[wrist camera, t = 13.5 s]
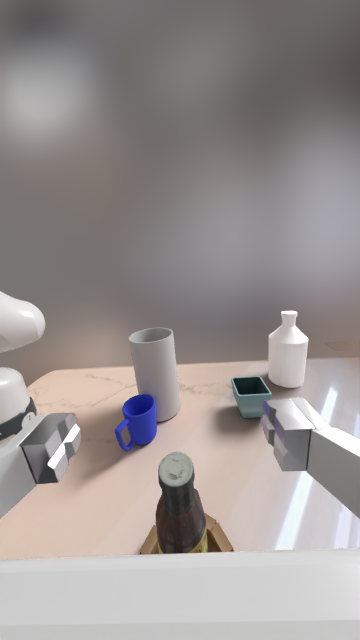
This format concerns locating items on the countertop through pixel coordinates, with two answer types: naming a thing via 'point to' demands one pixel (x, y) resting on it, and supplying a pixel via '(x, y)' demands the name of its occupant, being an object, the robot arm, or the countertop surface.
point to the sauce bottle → (179, 508)
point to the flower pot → (250, 395)
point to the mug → (138, 421)
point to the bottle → (287, 353)
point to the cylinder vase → (156, 369)
